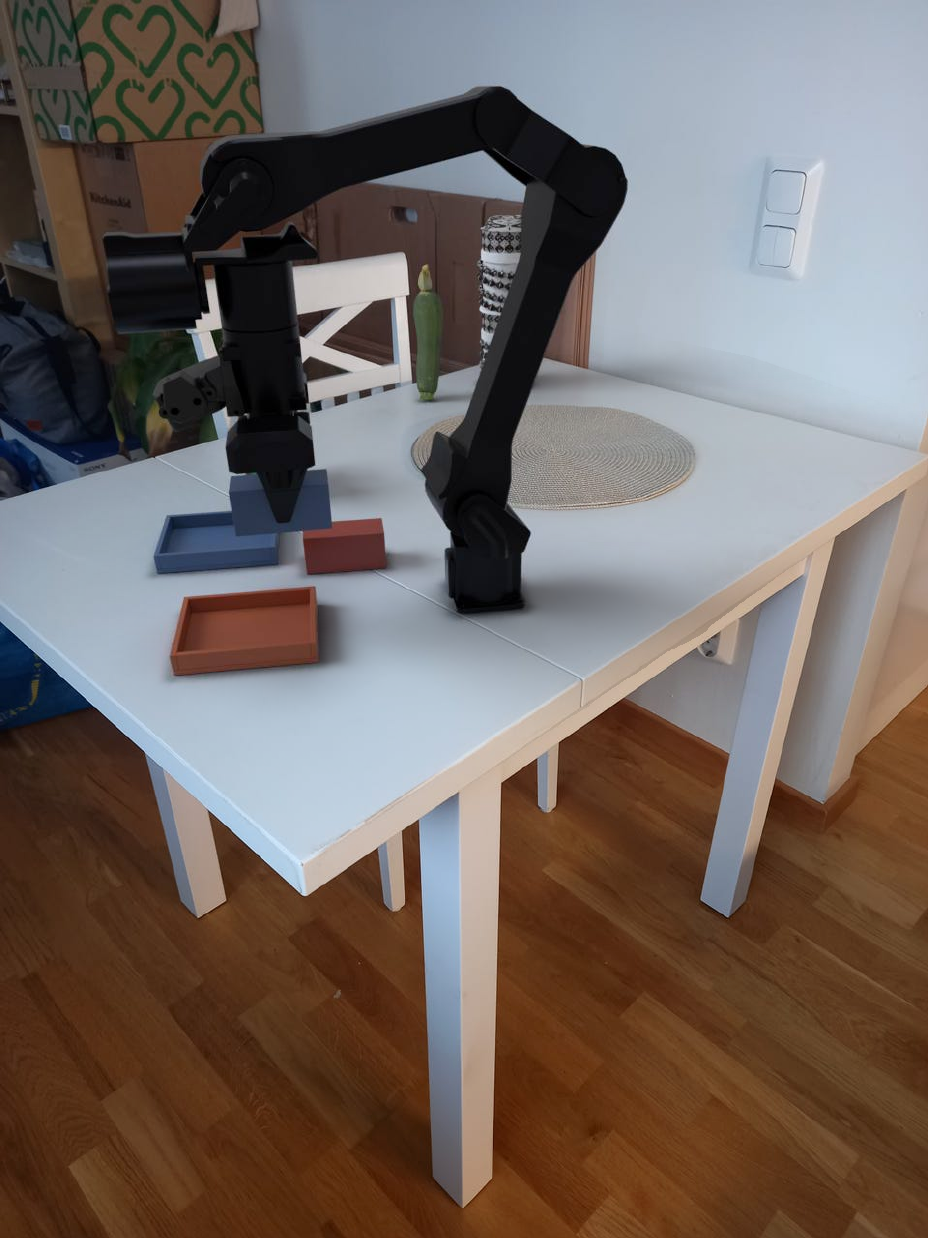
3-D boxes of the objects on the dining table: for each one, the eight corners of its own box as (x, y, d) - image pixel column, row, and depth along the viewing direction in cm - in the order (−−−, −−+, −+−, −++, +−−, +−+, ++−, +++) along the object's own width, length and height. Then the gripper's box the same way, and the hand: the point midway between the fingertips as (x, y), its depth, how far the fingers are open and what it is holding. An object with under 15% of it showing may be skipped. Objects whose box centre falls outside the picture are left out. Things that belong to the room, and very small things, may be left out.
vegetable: (419, 394, 141) (414, 259, 130) (446, 395, 140) (443, 260, 130) (414, 403, 137) (408, 265, 126) (442, 404, 136) (438, 265, 126)
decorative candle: (517, 373, 150) (520, 211, 137) (544, 387, 143) (550, 217, 130) (468, 380, 147) (466, 215, 134) (493, 395, 140) (494, 222, 127)
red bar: (383, 552, 94) (381, 517, 92) (386, 568, 91) (384, 532, 89) (306, 558, 93) (302, 523, 91) (306, 574, 90) (302, 538, 88)
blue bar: (330, 511, 78) (326, 468, 76) (332, 528, 75) (328, 484, 73) (237, 519, 77) (230, 475, 75) (235, 536, 74) (228, 492, 72)
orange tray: (317, 604, 84) (315, 585, 83) (318, 662, 76) (316, 642, 75) (187, 615, 83) (183, 596, 82) (173, 675, 75) (169, 655, 74)
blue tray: (279, 523, 100) (277, 507, 99) (277, 564, 92) (275, 546, 91) (169, 531, 99) (166, 514, 98) (157, 573, 90) (153, 556, 89)
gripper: (163, 303, 74) (194, 478, 82) (133, 362, 59) (174, 572, 67) (298, 297, 76) (316, 469, 84) (304, 352, 60) (325, 558, 68)
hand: (283, 512), depth 76 cm, fingers closed on blue bar, 3 cm apart
